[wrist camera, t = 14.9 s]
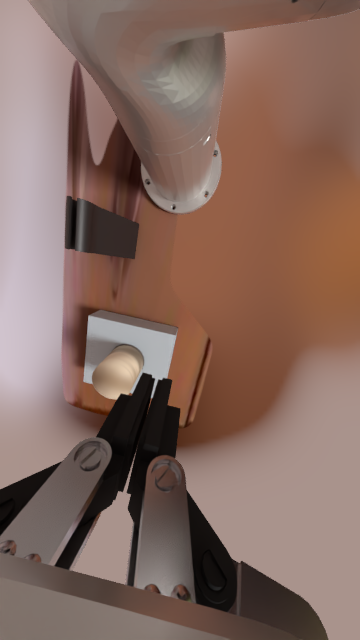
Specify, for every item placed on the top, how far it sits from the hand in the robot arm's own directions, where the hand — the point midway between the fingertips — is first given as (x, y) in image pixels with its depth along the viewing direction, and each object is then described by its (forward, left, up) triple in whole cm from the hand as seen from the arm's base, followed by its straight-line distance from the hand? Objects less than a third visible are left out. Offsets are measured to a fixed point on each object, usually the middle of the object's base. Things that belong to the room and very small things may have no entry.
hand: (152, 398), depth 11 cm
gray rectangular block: (+12, -8, -28) cm, 32 cm away
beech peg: (+12, -8, -27) cm, 31 cm away
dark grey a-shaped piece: (-9, -15, -28) cm, 33 cm away
